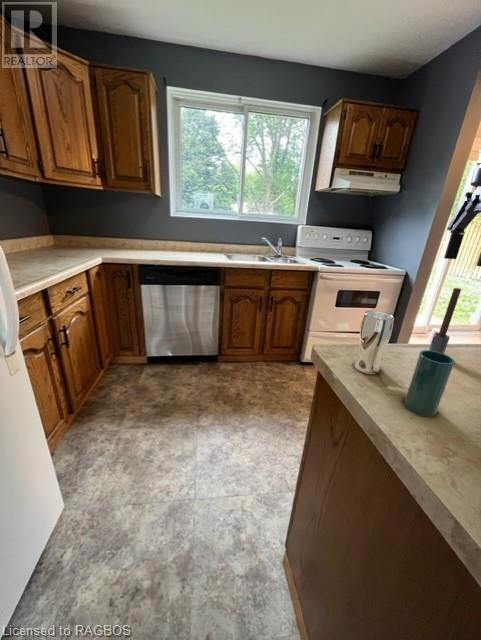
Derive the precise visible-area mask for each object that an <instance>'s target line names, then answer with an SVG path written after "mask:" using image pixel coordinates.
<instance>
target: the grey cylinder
mask: <svg viewBox="0 0 481 640" xmlns="http://www.w3.org/2000/svg"><path fill="white" fill-rule="evenodd" d="M438 335H439V332H434V334H433V337H432V340H431V343H430V346H429V349H428V350H430V351H436V352H439V353H443V354H445V352H446V349H447V346H448V344H449V340H450V339H451V338H450V336H449V335H448V334H446V336H445V337H440V336H438Z"/></svg>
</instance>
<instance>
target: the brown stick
mask: <svg viewBox="0 0 481 640" xmlns="http://www.w3.org/2000/svg"><path fill="white" fill-rule="evenodd" d="M461 291H462V288H459V287H453V289H452V293H451V296H450V299H449V302H448V305H447V307H446V311H445V314H444V317H443V320H442V323H441V325H440V326H441V327H440V329H439V332H438V333H439V335H438V336H440V337H445V336H446V335H447V332H448V330H449V327H450V324H451V321H452V318H453V315H454V312H455V309H456V306H457V304H458V300H459V297H460V295H461Z"/></svg>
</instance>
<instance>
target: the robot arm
mask: <svg viewBox="0 0 481 640" xmlns="http://www.w3.org/2000/svg"><path fill="white" fill-rule="evenodd" d="M478 152H479V155H478V159H477V162H476V165H477V167H476V168H475V169H473V170H474V171H473V174H472V177H471V180H470V186H471V187H474V188H475V189H474V191H473V192H472V191H471V192H470V191H466V192H465V193H464V195H463V198H462V200H461V202H460V204H459V206H458V208H457V209H456V211H455V213H454V215H453V217H452V218H451V219H450V220H451V221H449V224H448V226H447V228H446V230H447V231H449V233H450V237H449V238H448V239H449V240H448V243H447V247H446V250H445V252H444V256H443V259H445V260H447V259H448V260H457V259H458V255H459V252H460V248H461V245H462V242H463V239H464V236H465V230H466V229H467V227H468V226H469V225H470V224H471V223H472V221H473V220H474V219H475V218H476V217H477V215H479V214H480V213H481V148H480V149H479V151H478ZM475 266H476V267H481V252H479V256H478V259H477V262H476V265H475Z"/></svg>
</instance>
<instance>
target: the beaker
mask: <svg viewBox="0 0 481 640" xmlns="http://www.w3.org/2000/svg"><path fill="white" fill-rule="evenodd" d="M455 363H456V361H455V359H454V358H453V357H452V356H449V355H448V354H446V353H444V354H443V353H439V352H436V351H430V350H429V349H427V350H426V349H425V350H421V351H419V354H418V357H417V359H416V363H415V367H414V370H413V373H412V376H411V379H410V383H409V386H408V389H407V392H406V396H405V399H404V405H405V407H406V408H407V409H408V410H409V411H411V412H413V413H415V414H417V415H420V416H423V417H434V416H435V415H436V414H437V412H438V409H439V407H440V404H441V401H442V398H443V395H444V392H445V391H446V388H447V385H448V382H449V380H450V376H451V374H452V371H453V368H454V365H455Z"/></svg>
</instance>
